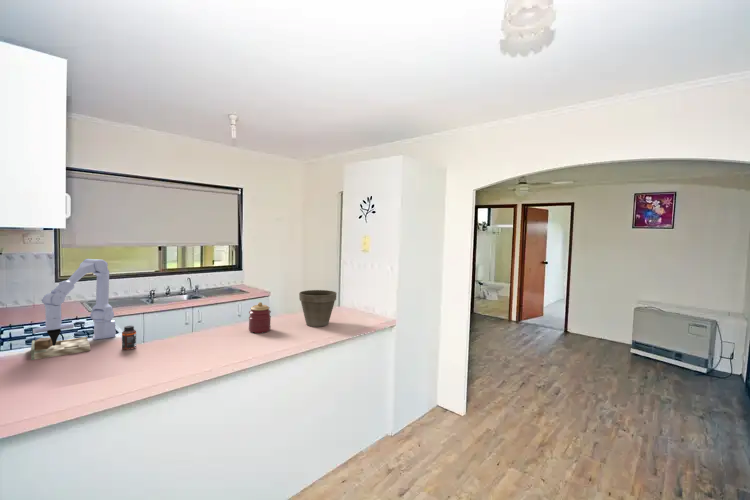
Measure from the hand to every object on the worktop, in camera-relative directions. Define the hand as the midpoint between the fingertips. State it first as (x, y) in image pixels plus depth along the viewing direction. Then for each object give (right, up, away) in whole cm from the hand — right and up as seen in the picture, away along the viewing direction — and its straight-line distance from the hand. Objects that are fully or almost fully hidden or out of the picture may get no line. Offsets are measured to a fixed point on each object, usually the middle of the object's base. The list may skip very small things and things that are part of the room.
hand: (53, 345), depth 173 cm
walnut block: (-4, -1, -1) cm, 4 cm away
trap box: (+2, -3, +2) cm, 4 cm away
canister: (+85, -4, +47) cm, 97 cm away
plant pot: (+118, -4, +66) cm, 135 cm away
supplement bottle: (+31, -4, +8) cm, 33 cm away
